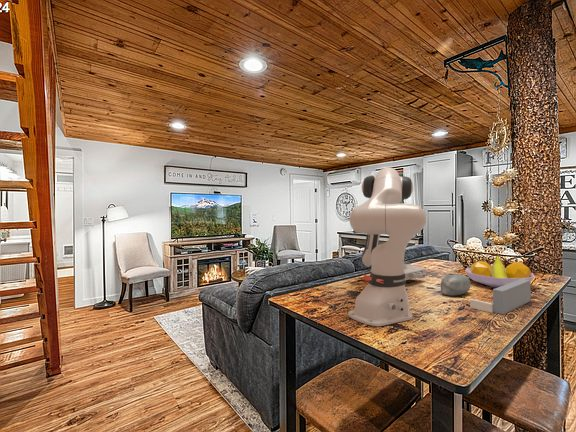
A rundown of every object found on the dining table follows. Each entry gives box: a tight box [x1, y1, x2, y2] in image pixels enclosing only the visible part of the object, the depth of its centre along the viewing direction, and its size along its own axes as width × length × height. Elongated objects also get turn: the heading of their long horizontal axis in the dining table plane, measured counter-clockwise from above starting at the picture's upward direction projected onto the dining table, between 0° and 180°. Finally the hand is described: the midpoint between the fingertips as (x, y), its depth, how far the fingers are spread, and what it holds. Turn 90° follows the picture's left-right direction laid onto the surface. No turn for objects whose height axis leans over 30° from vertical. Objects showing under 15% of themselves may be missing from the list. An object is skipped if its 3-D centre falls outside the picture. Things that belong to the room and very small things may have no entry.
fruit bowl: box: [464, 255, 536, 288], centre depth 137 cm, size 28×27×11 cm
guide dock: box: [469, 279, 532, 315], centre depth 109 cm, size 26×10×8 cm, turn 123°
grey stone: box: [440, 273, 471, 297], centre depth 124 cm, size 14×10×10 cm
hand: (423, 276), depth 136 cm, fingers closed
